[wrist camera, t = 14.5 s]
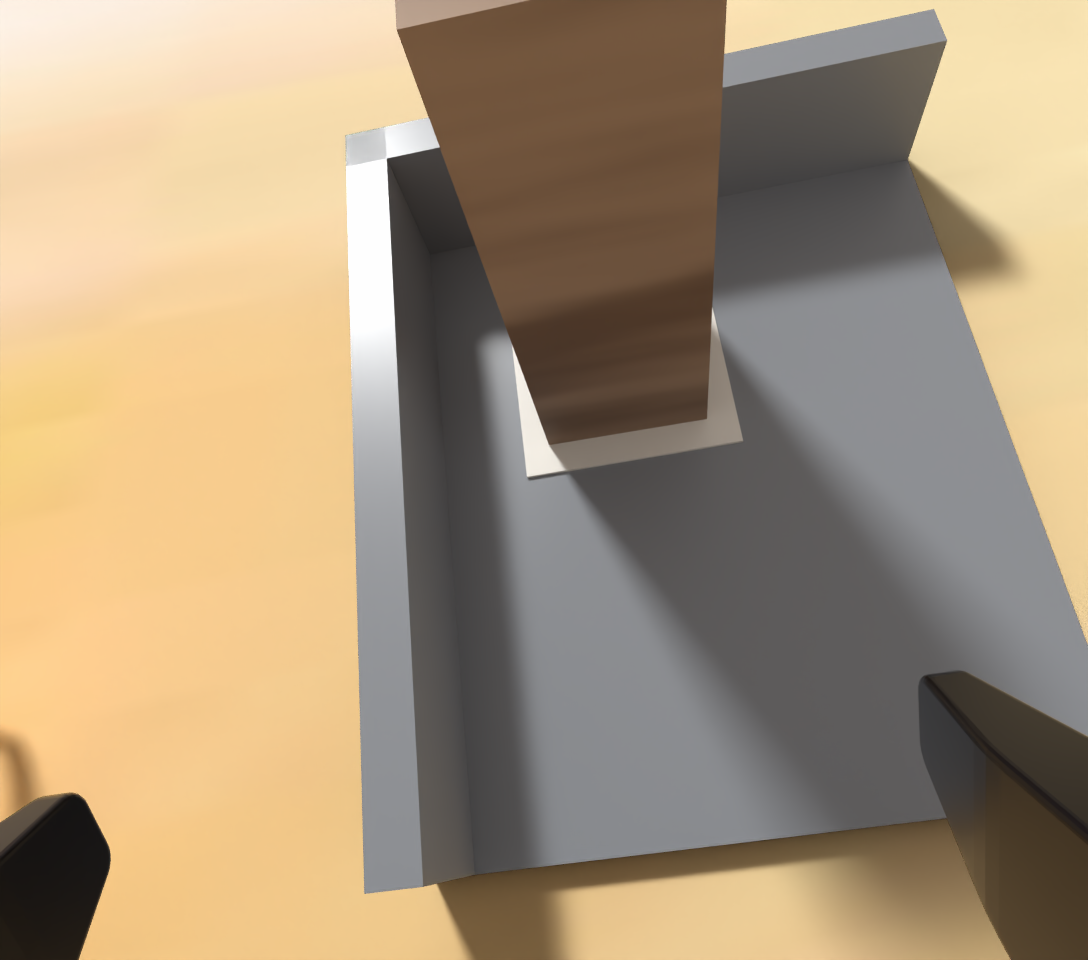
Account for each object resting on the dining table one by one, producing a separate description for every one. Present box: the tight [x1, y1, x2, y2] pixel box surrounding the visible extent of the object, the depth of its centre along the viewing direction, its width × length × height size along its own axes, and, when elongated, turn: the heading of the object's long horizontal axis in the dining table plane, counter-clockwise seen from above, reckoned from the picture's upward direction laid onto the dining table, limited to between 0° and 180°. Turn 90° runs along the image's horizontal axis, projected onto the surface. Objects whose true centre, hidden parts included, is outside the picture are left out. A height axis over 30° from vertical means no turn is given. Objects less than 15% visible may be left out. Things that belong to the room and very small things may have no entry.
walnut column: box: [395, 0, 727, 445], centre depth 19 cm, size 5×5×14 cm
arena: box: [345, 9, 1088, 894], centre depth 22 cm, size 20×17×5 cm
